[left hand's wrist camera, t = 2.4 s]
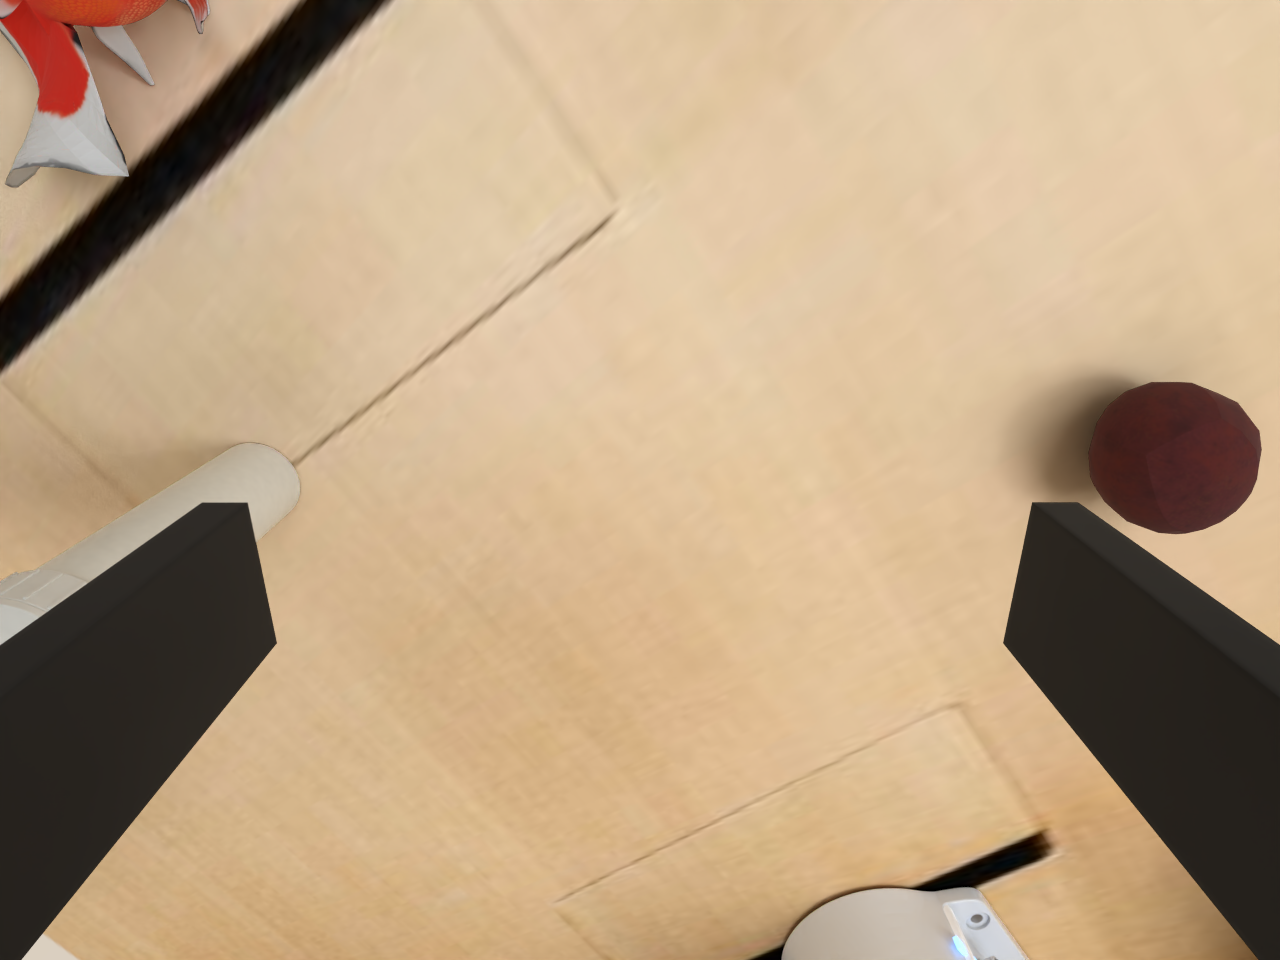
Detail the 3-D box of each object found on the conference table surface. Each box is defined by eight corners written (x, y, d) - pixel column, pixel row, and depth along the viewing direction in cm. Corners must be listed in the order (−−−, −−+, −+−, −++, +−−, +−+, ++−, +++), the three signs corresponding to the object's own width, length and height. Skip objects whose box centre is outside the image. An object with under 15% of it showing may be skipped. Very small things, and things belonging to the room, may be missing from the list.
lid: (88, 713, 29) (42, 757, 27) (-40, 630, 28) (-100, 669, 26) (162, 631, 28) (120, 670, 26) (32, 539, 26) (-24, 572, 24)
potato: (1091, 521, 43) (1172, 581, 36) (1038, 413, 40) (1115, 456, 34) (1216, 454, 41) (1326, 504, 35) (1169, 338, 39) (1277, 368, 32)
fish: (333, 71, 30) (45, -3, 22) (178, 252, 39) (-68, 246, 31) (232, -176, 30) (-96, -343, 22) (99, 62, 39) (-169, 7, 31)
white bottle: (269, 535, 43) (47, 739, 27) (199, 481, 42) (-75, 661, 26) (317, 482, 42) (116, 662, 26) (247, 425, 41) (-10, 577, 25)
